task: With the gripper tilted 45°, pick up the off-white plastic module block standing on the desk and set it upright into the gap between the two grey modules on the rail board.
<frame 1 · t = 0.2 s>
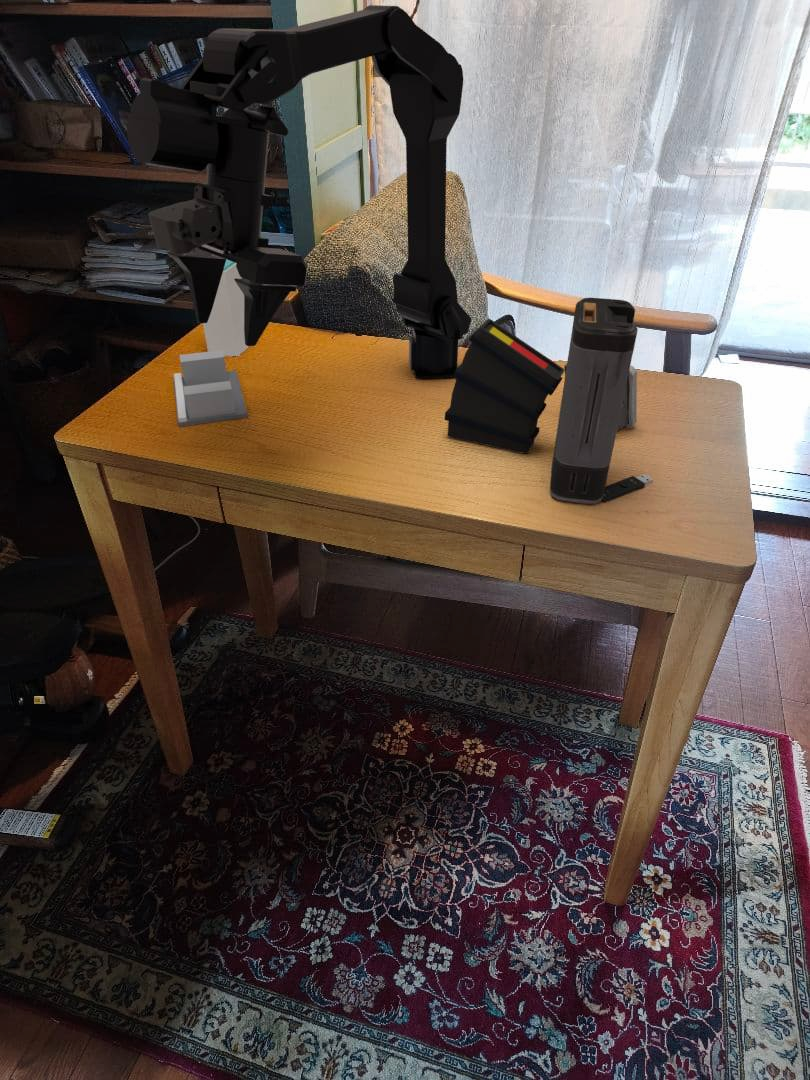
hand: (225, 333, 80), 15 cm above the table, tool pointing down, fingers open, 9 cm apart
usb flash drive: (622, 492, 84), on the table
electronic device: (576, 483, 85), on the table
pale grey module: (229, 349, 115), on the table
rail board: (209, 398, 102), on the table
electrical switch: (596, 422, 97), on the table
magazine: (498, 443, 92), on the table
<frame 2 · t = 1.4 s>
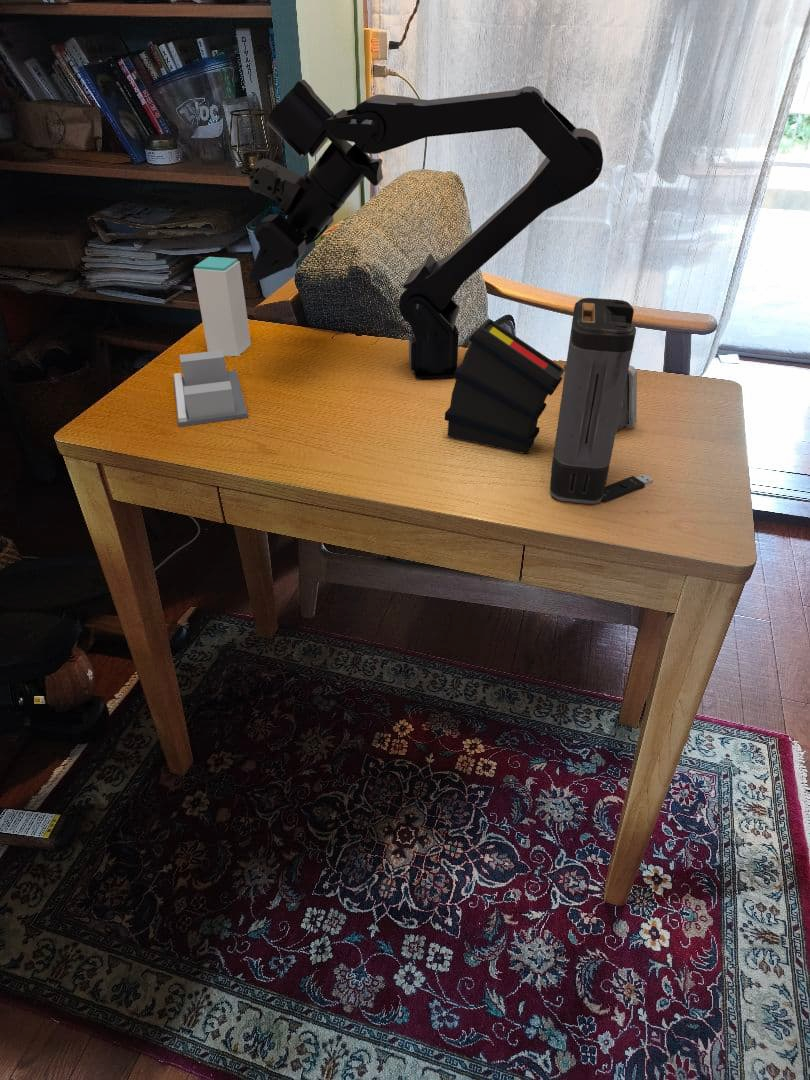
hand: (262, 269, 104), 13 cm above the table, tool tilted 45°, fingers open, 9 cm apart
nothing on the table moved.
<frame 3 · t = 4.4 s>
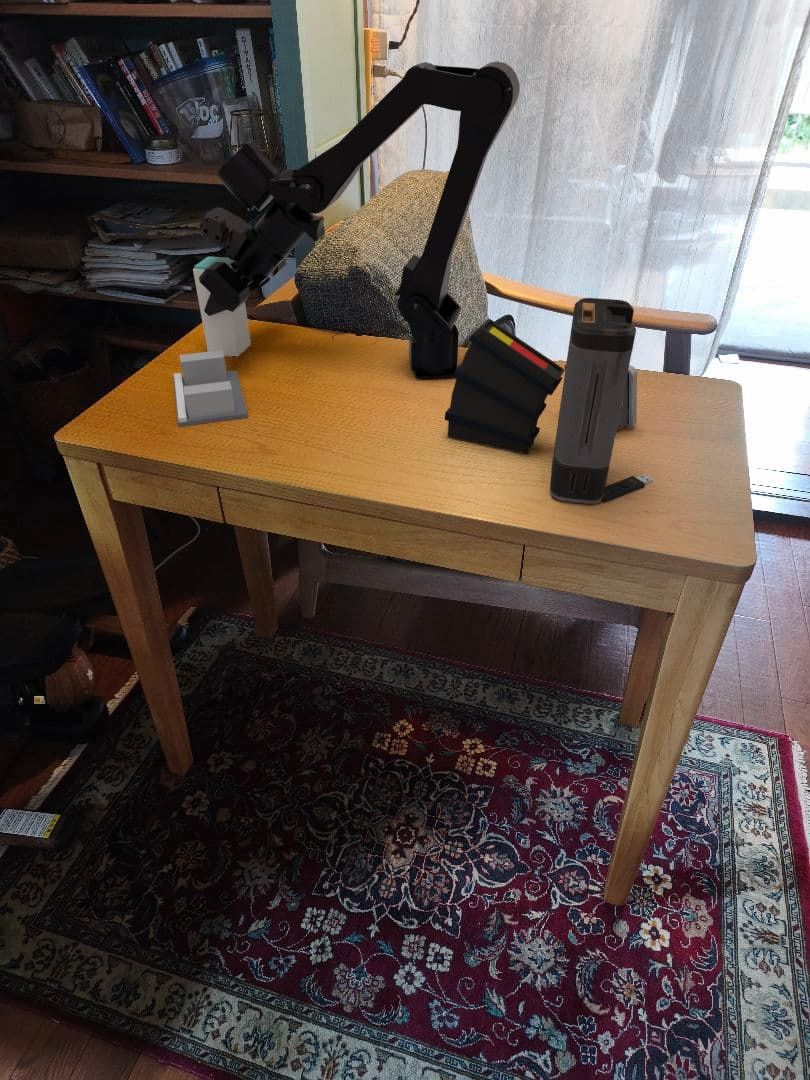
hand: (214, 306, 111), 7 cm above the table, tool tilted 45°, fingers closed on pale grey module, 5 cm apart
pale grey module: (229, 349, 115), on the table, touching gripper
everything else where it was.
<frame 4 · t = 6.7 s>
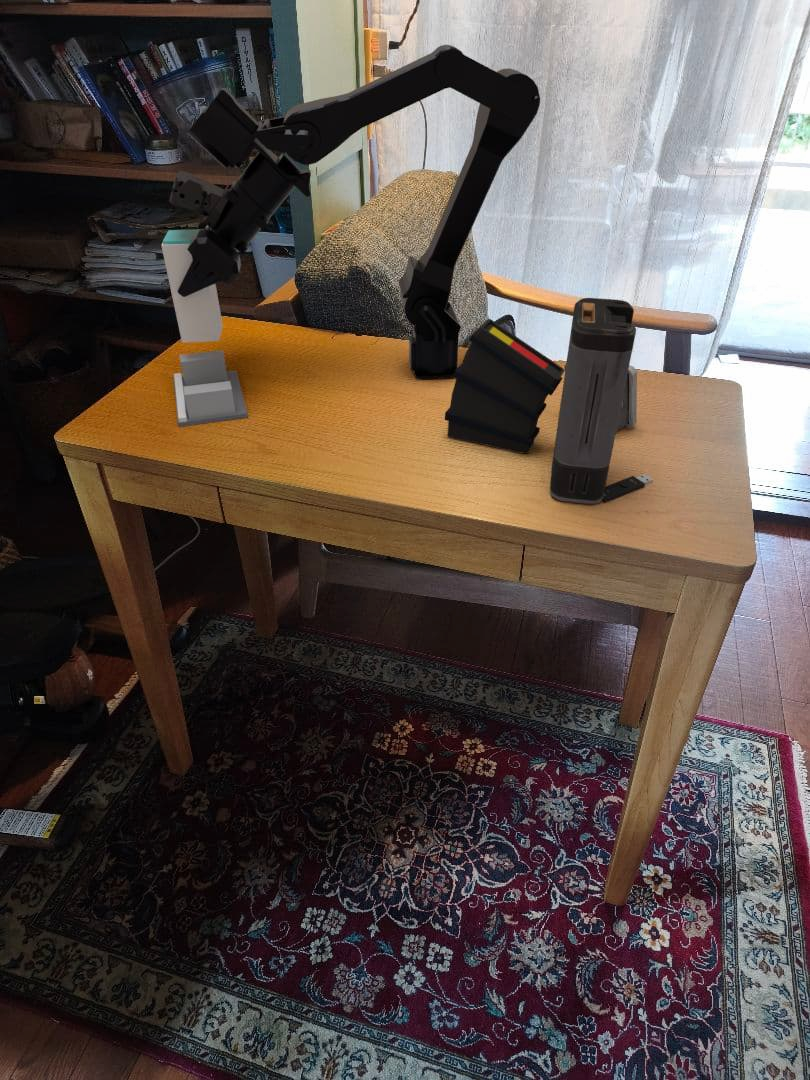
hand: (183, 287, 98), 13 cm above the table, tool tilted 45°, fingers closed on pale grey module, 5 cm apart
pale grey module: (202, 334, 103), point 7 cm above the table, touching gripper
everything else where it was.
when the fingers open (8 cm above the table, at t = 8.8 s): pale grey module drops 1 cm, resting on rail board.
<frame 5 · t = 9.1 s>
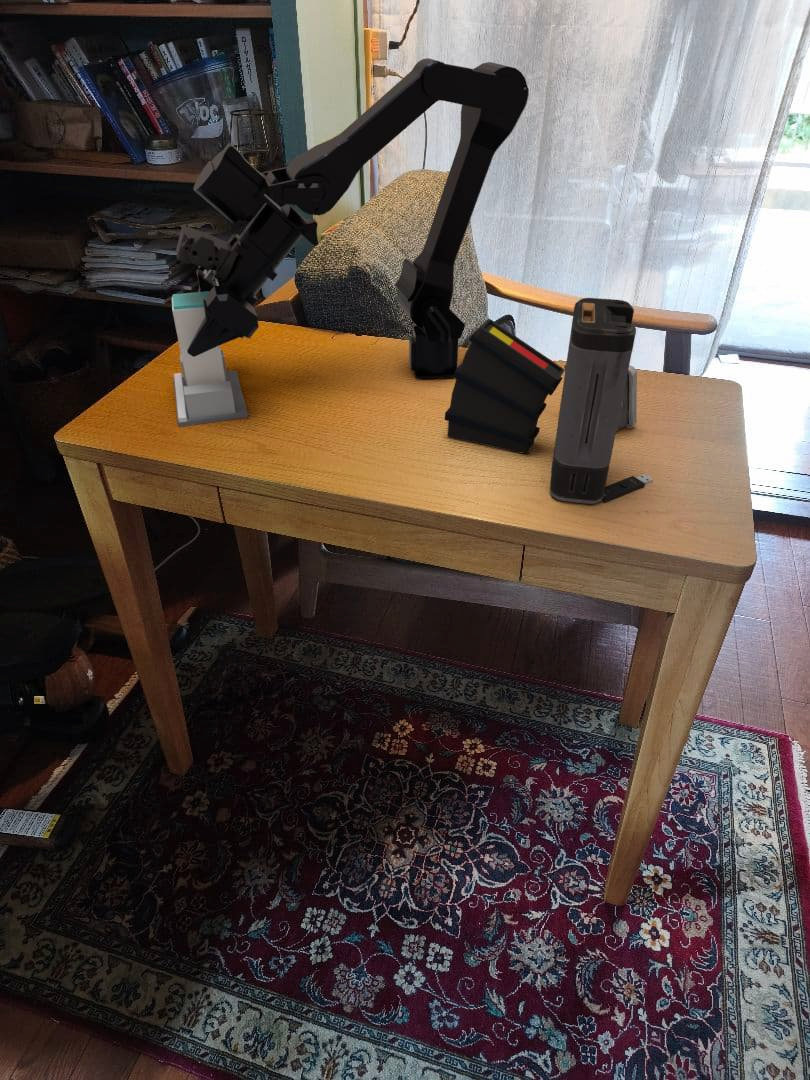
hand: (188, 341, 96), 8 cm above the table, tool tilted 45°, fingers open, 8 cm apart
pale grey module: (208, 394, 101), point 1 cm above the table, touching rail board
everything else where it was.
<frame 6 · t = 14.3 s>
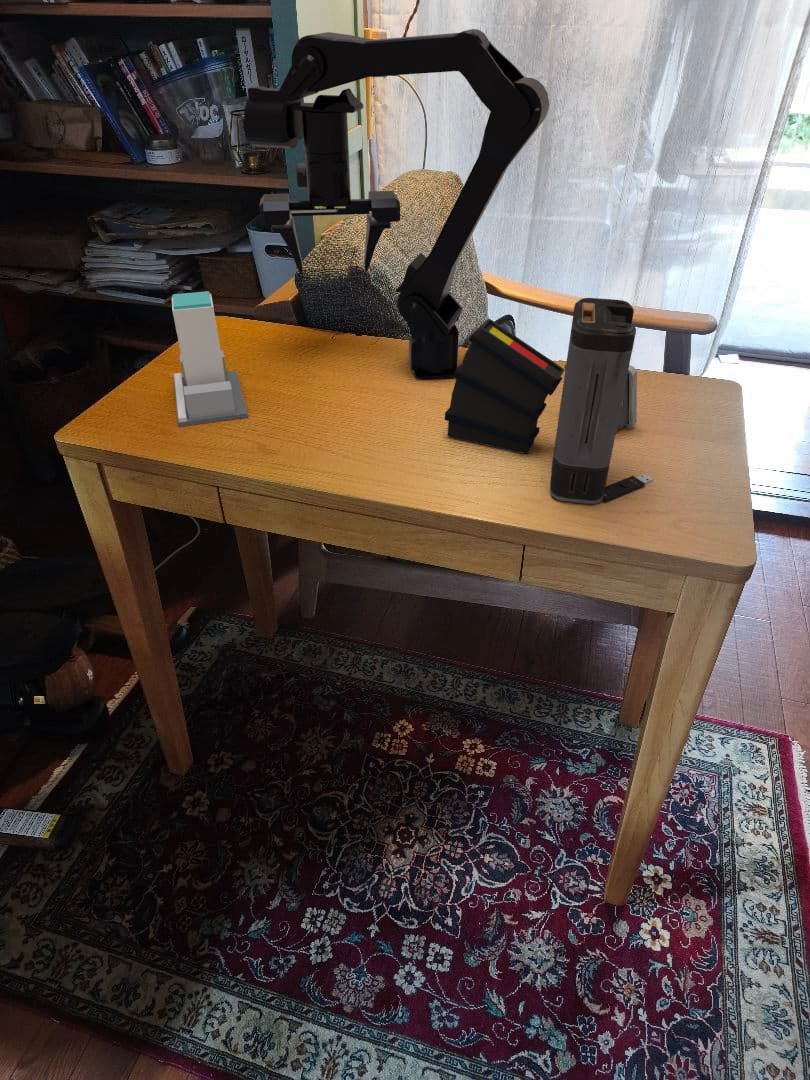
hand: (333, 272, 105), 13 cm above the table, tool pointing down, fingers open, 9 cm apart
nothing on the table moved.
at the end: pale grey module 0.0 cm from the target spot, point 0.6 cm above the table; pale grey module tilted 0°; the gripper is holding nothing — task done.
